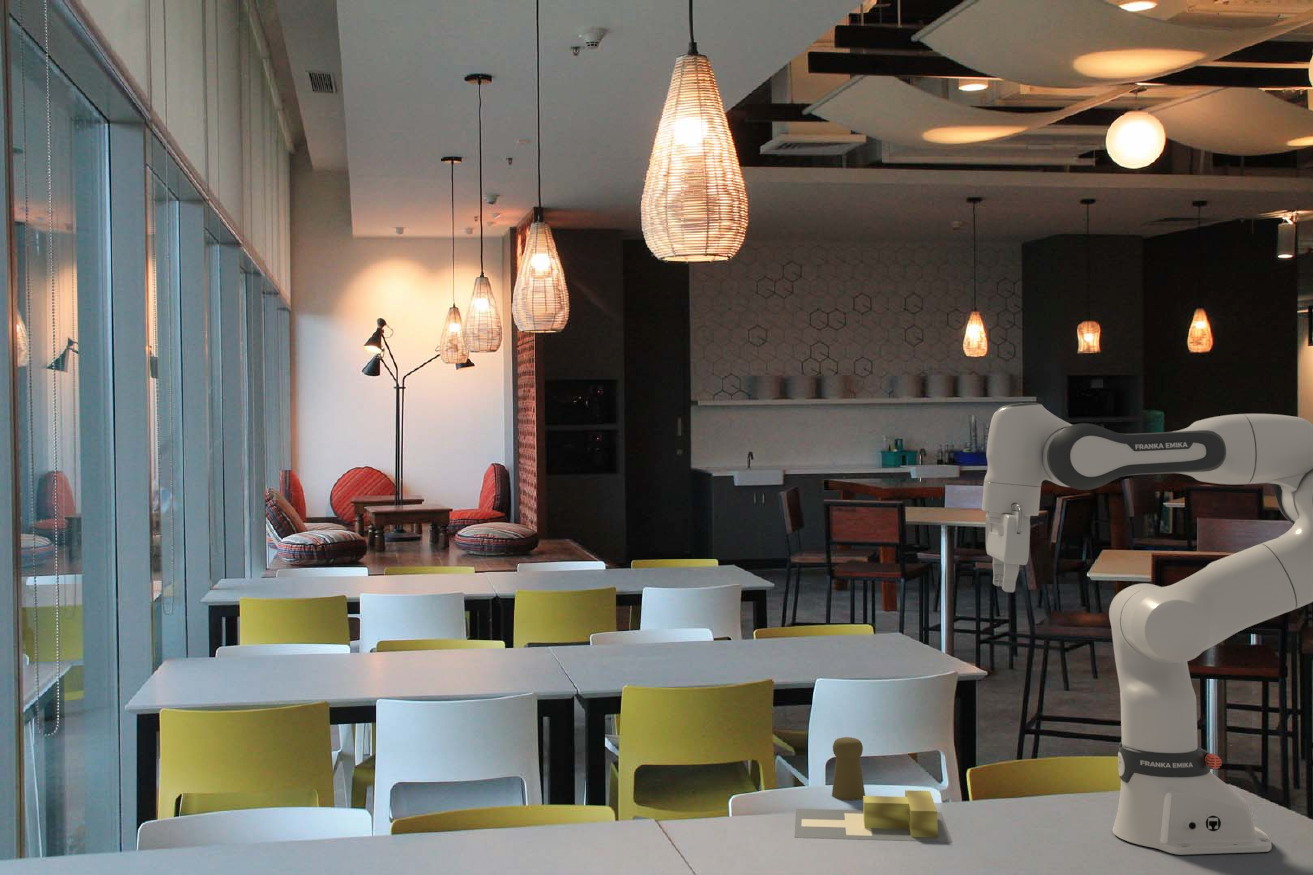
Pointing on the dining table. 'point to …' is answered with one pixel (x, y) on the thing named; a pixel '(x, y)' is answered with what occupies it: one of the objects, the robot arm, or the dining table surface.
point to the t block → (902, 813)
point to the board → (854, 827)
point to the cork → (848, 769)
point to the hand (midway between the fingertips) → (1003, 588)
